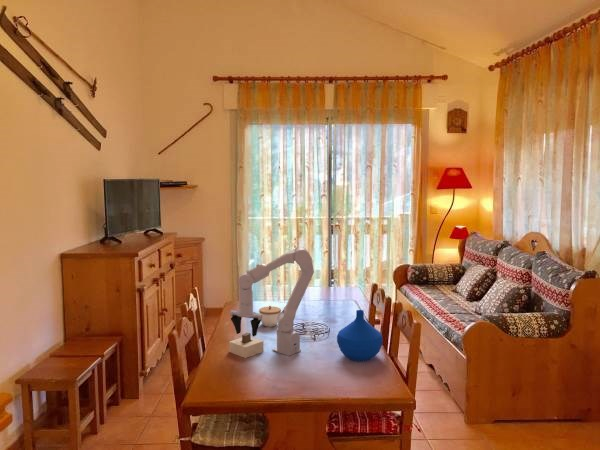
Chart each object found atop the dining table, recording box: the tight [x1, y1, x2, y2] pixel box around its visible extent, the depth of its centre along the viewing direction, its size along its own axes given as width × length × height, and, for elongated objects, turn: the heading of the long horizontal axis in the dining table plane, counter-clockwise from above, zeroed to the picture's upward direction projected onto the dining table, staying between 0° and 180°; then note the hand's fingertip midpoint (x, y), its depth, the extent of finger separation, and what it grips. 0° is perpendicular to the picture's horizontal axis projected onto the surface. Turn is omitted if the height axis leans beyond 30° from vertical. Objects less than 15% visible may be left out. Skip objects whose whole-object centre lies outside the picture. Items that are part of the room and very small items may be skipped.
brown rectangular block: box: [241, 332, 252, 344], centre depth 197 cm, size 2×4×7 cm, turn 155°
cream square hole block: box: [228, 336, 264, 359], centre depth 197 cm, size 10×10×4 cm
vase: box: [336, 309, 384, 363], centre depth 191 cm, size 18×18×19 cm
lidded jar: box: [258, 305, 282, 328], centre depth 233 cm, size 11×11×9 cm
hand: (246, 334), depth 197 cm, fingers open, 7 cm apart
